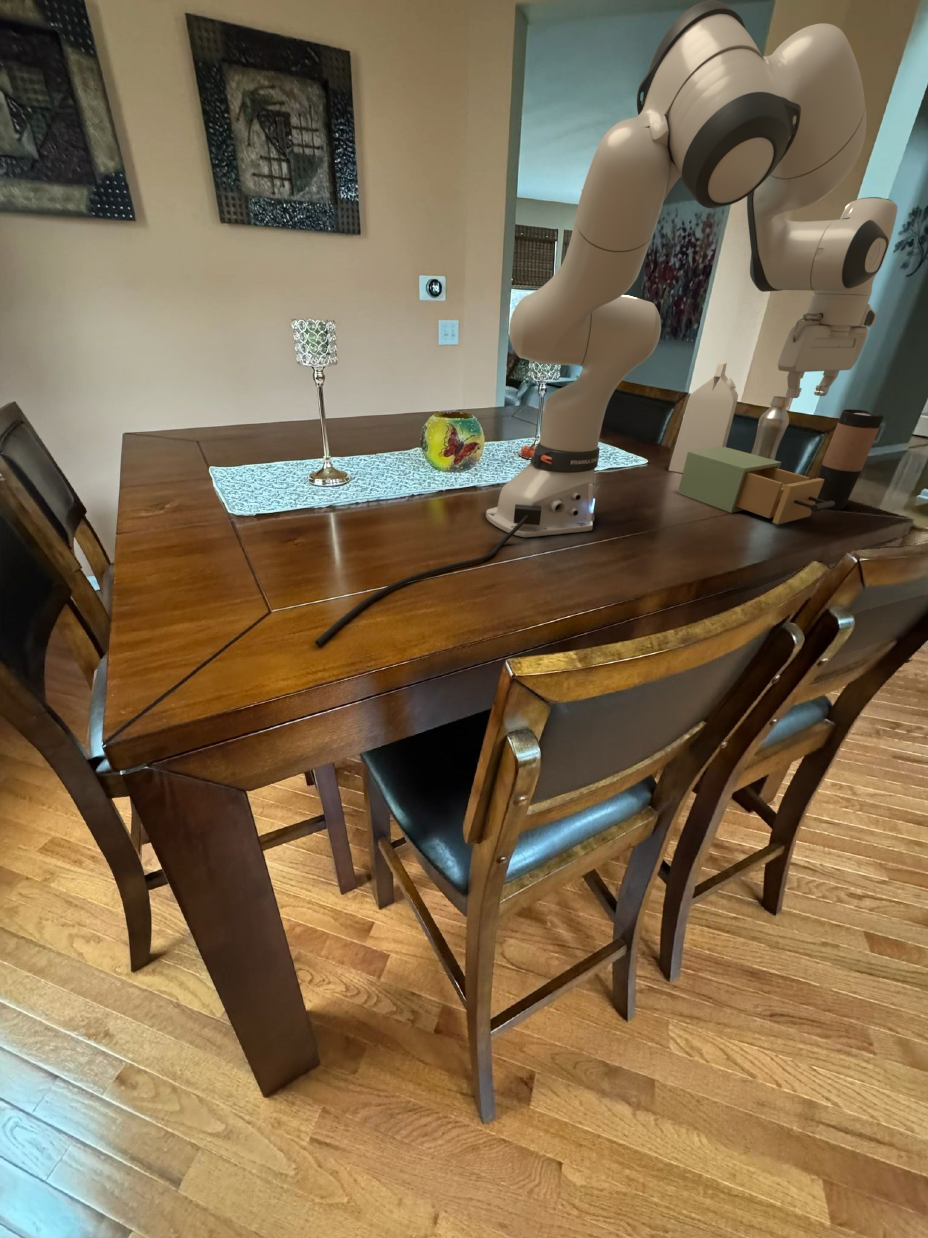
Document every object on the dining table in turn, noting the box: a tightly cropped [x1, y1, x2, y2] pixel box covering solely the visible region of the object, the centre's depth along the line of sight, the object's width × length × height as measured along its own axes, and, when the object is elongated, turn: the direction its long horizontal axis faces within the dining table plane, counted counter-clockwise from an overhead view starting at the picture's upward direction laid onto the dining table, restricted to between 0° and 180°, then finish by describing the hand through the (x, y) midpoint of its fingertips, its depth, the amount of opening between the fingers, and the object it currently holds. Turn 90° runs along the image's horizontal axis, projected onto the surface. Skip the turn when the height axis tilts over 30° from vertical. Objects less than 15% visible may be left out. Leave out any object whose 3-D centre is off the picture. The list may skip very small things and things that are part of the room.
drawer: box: [735, 467, 835, 525], centre depth 111 cm, size 18×11×8 cm, turn 30°
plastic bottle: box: [750, 395, 791, 461], centre depth 132 cm, size 6×7×20 cm
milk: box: [668, 361, 739, 474], centre depth 138 cm, size 12×12×26 cm
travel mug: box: [815, 408, 885, 511], centre depth 118 cm, size 8×8×20 cm
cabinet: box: [677, 446, 782, 514], centre depth 121 cm, size 15×13×10 cm
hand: (806, 396), depth 103 cm, fingers open, 8 cm apart
